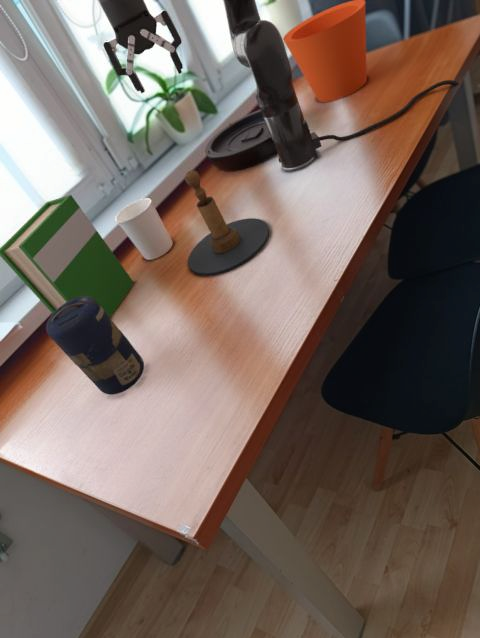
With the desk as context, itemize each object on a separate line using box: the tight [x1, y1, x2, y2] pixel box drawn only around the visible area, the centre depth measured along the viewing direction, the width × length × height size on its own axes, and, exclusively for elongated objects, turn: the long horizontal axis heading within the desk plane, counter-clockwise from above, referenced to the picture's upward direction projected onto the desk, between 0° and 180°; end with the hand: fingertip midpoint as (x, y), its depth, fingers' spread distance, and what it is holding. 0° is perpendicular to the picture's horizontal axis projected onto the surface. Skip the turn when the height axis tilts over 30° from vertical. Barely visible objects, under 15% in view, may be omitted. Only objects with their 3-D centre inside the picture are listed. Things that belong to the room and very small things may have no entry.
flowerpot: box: [282, 0, 368, 103], centre depth 148 cm, size 25×25×20 cm
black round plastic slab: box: [204, 109, 278, 172], centre depth 146 cm, size 30×6×30 cm
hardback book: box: [0, 194, 135, 319], centre depth 105 cm, size 18×7×24 cm, turn 161°
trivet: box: [187, 217, 271, 277], centre depth 109 cm, size 20×20×1 cm
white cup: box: [114, 197, 174, 261], centre depth 120 cm, size 10×10×12 cm
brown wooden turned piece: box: [184, 170, 240, 253], centre depth 104 cm, size 7×6×18 cm
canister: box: [45, 296, 145, 396], centre depth 84 cm, size 10×10×18 cm
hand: (161, 82), depth 99 cm, fingers open, 8 cm apart
